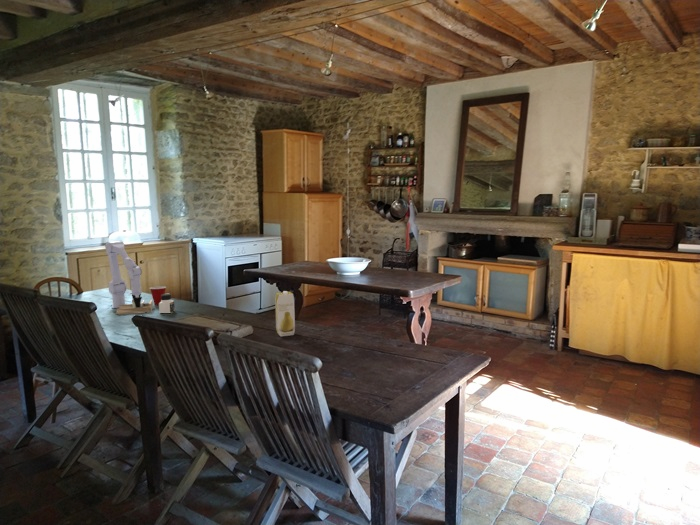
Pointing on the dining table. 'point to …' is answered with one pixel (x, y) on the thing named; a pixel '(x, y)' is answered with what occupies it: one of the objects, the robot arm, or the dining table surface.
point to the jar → (134, 304)
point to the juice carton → (285, 313)
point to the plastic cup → (157, 293)
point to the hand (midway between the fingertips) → (137, 306)
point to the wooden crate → (130, 310)
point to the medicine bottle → (166, 304)
